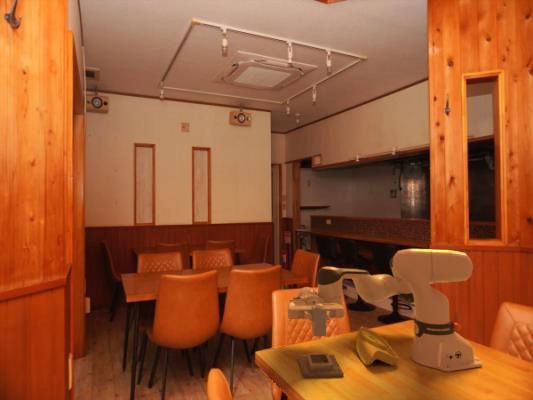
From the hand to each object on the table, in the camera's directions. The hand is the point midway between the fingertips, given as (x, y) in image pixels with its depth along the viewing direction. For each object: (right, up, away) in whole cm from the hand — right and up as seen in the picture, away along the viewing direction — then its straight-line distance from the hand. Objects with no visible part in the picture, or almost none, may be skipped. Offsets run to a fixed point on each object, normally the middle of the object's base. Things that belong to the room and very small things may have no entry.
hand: (319, 318), depth 123 cm
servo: (0, -6, +1) cm, 6 cm away
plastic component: (+22, -17, +10) cm, 30 cm away
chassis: (0, -17, 0) cm, 17 cm away
